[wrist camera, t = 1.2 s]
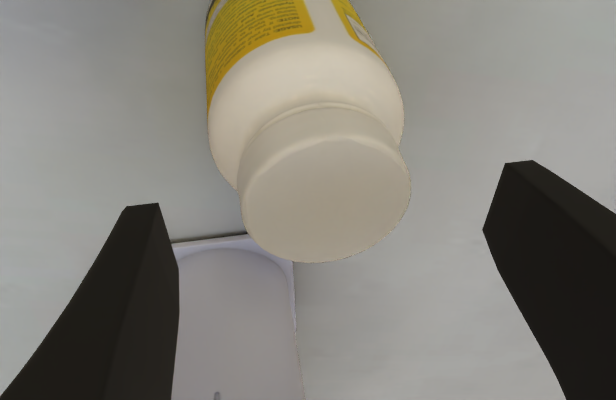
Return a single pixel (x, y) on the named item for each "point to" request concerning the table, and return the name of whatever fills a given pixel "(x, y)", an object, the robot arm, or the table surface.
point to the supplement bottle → (305, 126)
